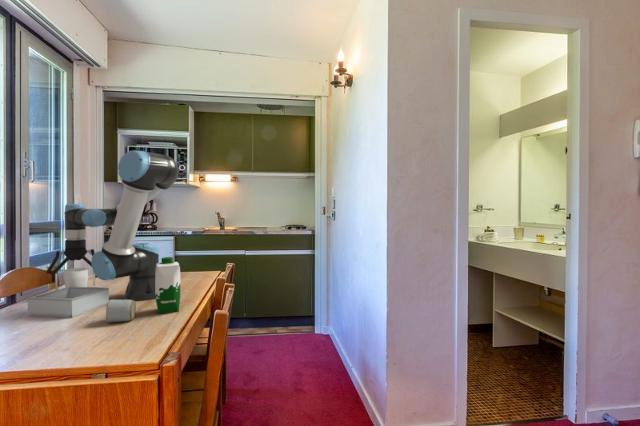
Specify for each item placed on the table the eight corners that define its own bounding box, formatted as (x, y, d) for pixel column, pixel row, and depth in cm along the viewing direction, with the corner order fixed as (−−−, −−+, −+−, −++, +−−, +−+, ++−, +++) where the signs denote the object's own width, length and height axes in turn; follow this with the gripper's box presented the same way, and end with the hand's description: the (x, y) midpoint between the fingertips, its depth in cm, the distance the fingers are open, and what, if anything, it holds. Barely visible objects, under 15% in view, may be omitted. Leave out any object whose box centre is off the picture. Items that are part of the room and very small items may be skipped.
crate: (108, 303, 143) (108, 287, 143) (72, 317, 125) (71, 299, 125) (69, 302, 146) (69, 286, 146) (27, 315, 128) (27, 297, 128)
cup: (71, 294, 158) (71, 268, 158) (92, 294, 159) (92, 267, 159) (58, 299, 149) (58, 271, 149) (81, 299, 150) (80, 271, 150)
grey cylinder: (132, 323, 120) (132, 300, 120) (105, 325, 118) (105, 302, 118) (138, 314, 130) (137, 293, 130) (113, 316, 128) (112, 295, 128)
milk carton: (179, 305, 141) (178, 256, 140) (181, 312, 133) (181, 259, 132) (155, 308, 137) (154, 257, 136) (156, 315, 129) (155, 261, 128)
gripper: (107, 236, 164) (107, 281, 165) (39, 239, 149) (39, 289, 150) (109, 238, 158) (109, 285, 159) (38, 241, 143) (39, 293, 144)
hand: (75, 287), depth 154 cm, fingers open, 13 cm apart
